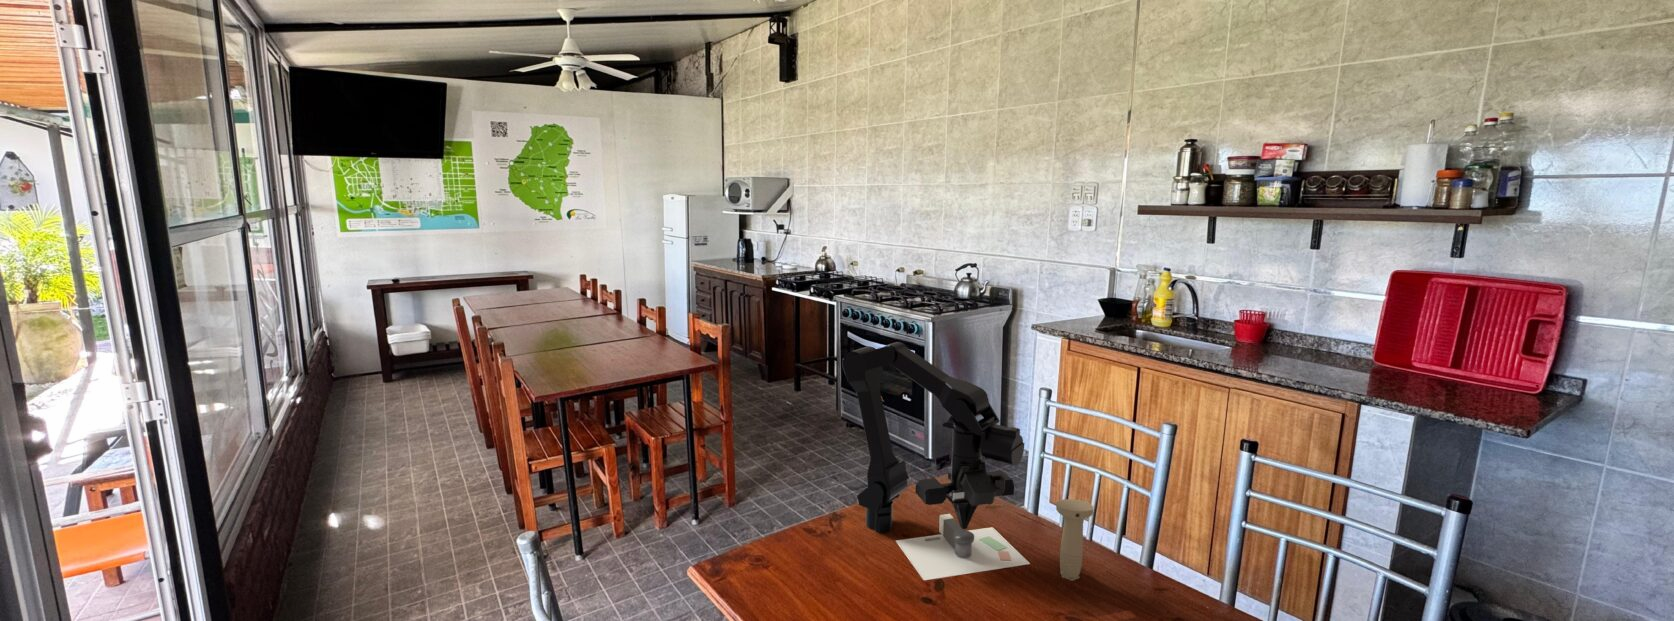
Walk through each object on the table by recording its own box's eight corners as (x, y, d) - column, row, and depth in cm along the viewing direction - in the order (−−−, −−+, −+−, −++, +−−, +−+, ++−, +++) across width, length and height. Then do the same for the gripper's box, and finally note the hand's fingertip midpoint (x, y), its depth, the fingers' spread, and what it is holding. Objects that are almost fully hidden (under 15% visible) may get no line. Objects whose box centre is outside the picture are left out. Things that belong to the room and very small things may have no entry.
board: (895, 545, 141) (895, 539, 141) (992, 531, 147) (992, 526, 147) (923, 585, 127) (923, 579, 127) (1029, 568, 133) (1030, 562, 133)
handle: (1090, 588, 126) (1096, 512, 124) (1054, 586, 127) (1059, 510, 124) (1083, 574, 131) (1089, 500, 128) (1049, 572, 131) (1053, 498, 129)
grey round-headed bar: (977, 556, 134) (977, 538, 134) (958, 559, 133) (958, 541, 133) (952, 530, 145) (953, 513, 144) (935, 532, 144) (935, 515, 143)
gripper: (939, 474, 122) (936, 555, 125) (1032, 463, 127) (1027, 542, 130) (915, 451, 133) (913, 526, 135) (1002, 442, 138) (998, 515, 140)
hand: (963, 528), depth 135 cm, fingers closed
